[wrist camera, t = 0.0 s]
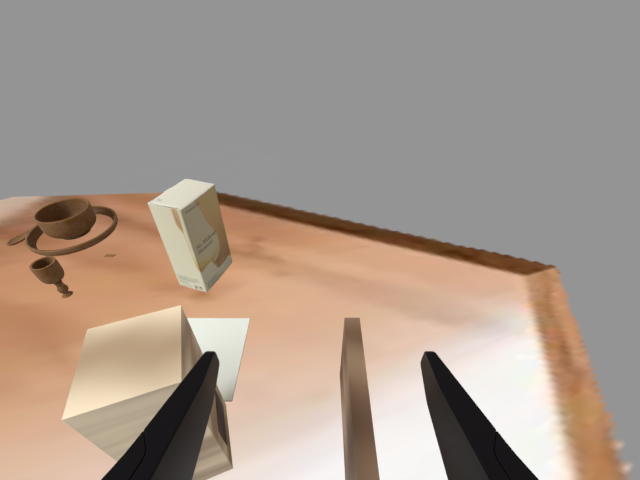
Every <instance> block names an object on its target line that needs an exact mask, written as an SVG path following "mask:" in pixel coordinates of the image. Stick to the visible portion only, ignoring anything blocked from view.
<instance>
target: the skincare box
mask: <svg viewBox="0 0 640 480" xmlns="http://www.w3.org/2000/svg"><path fill="white" fill-rule="evenodd" d="M148 205H149V208H150V210H151V213H152V216H153V218H154V221H155V223H156V226H157V228H158V231H159V233H160V236H161V238H162V241H163V243H164V246H165V248H166V251H167V254H168V256H169V259H170V261H171V264H172V266H173V269H174V271H175V274H176V277H177V279H178V282H179V284H180V285H182V286H185V287H189V288H192V289H196V290H200V291H204V292H208V291H209V290H210V289H211V288H212V286H213V285H214V284H215V283H216V282H217V281H218V280H219V278H220V277H221V276H222V275H223V274H224V272H225V271H226V270H227V268H228V267H229V266H230V265H231V263H232V257H231V253H230V249H229V245H228V241H227V236H226V232H225V227H224V223H223V219H222V215H221V210H220V206H219V202H218V197H217V193H216V189H215V184H212V183H207V182H201V181H196V180H191V179H184V180H182V181H181V182H179V183H178V184H176V185H175V186H173V187H171V188H169V189H167V190H166V191H165V192H163V193H162V194H161V195H159V196H158V197H156V198H155V199H153V200H151V201H150V202H148Z"/></svg>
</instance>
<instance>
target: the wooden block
mask: <svg viewBox="0 0 640 480" xmlns="http://www.w3.org/2000/svg"><path fill="white" fill-rule="evenodd" d="M202 355H203V353H202V351H201V348H200V346H199V344H198V342H197V340H196V337H195V335H194V333H193V331H192V328H191V326H190V324H189V322H188V319H187V317H186V315H185V313H184V311H183V308H182V306H181V305H180V306H176V307H172V308H168V309H164V310H160V311H156V312H153V313H149V314H145V315H141V316H137V317H133V318H129V319H125V320H121V321H117V322H113V323H109V324H106V325H102V326H98V327H94V328H90V329H87V332H86V335H85V339H84V342H83V346H82V349H81V353H80V356H79V360H78V364H77V367H76V371H75V374H74V378H73V381H72V385H71V389H70V392H69V396H68V399H67V403H66V406H65V410H64V414H63V417H62V421H64V422H65V423H66V424H68V425H69V426H70V427H72V428H73V429H74V430H76V431H77V432H78V433H80V434H81V435H82V436H84V437H85V438H86V439H88V440H89V441H90V442H92V443H93V444H94V445H96V446H97V447H98V448H100V449H101V450H102V451H104V452H105V453H106V454H108V455H109V456H110V457H112V458H113V459H114V460H116V461H118V460H119V459H120V458H121V457H122V456H123V455H124V454H125V452H126V451H127V450H128V449H129V447H130V446H131V445H132V444H133V443H134V441H135V440H136V439H137V438H138V436H139V435H140V434H141V432H142V431H144V429H145V427H146V426H147V425H148V424H149V422H150V421H151V420H152V419H153V417H154V416H155V415H156V413H157V412H158V411H159V410H160V408H161V407H162V406H163V405H164V403H165V402H166V401H167V399H168V398H169V397H170V396H171V394H172V393H173V392H174V391H175V389H176V388H177V387H178V385H179V384H180V383H181V382H182V380H183V379H184V378H185V377H186V375H187V374H188V373H189V371H190V370H191V369H192V368H193V366H194V365H195V364H196V363H197V361H198V360H199V359H200V358H201V356H202ZM231 469H233V463H232V454H231V446H230V437H229V428H228V419H227V410H226V404H225V402H224V400H223V397H222V395H221V393H220V391H219V389H218V386H217V384H216V390H215V396H214V401H213V406H212V409H211V413H210V417H209V420H208V424H207V428H206V431H205V435H204V438H203V442H202V446H201V449H200V453H199V456H198V460H197V464H196V467H195V471H194V475H193V478H192V480H207V479H209V478H211V477H214V476H216V475H219V474H221V473H224V472H226V471H229V470H231Z"/></svg>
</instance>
